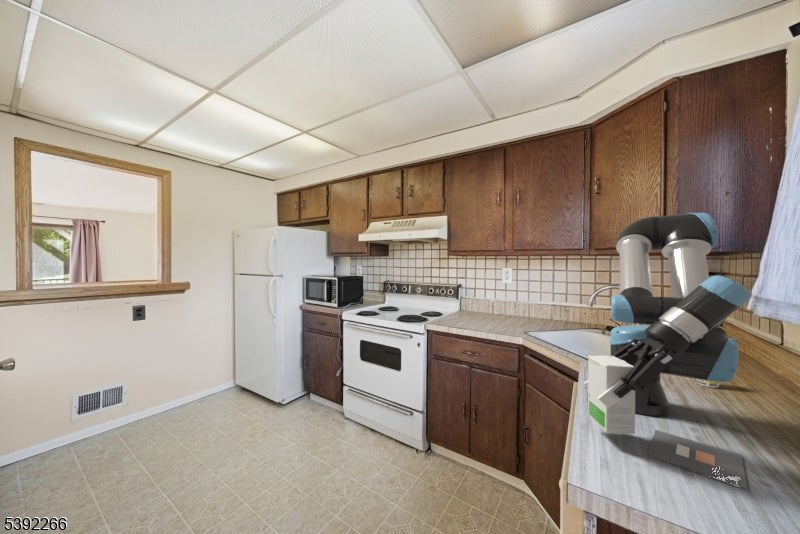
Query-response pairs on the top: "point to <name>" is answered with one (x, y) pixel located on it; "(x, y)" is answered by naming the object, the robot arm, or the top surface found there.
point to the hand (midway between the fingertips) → (595, 394)
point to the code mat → (697, 457)
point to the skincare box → (601, 379)
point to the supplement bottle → (708, 383)
